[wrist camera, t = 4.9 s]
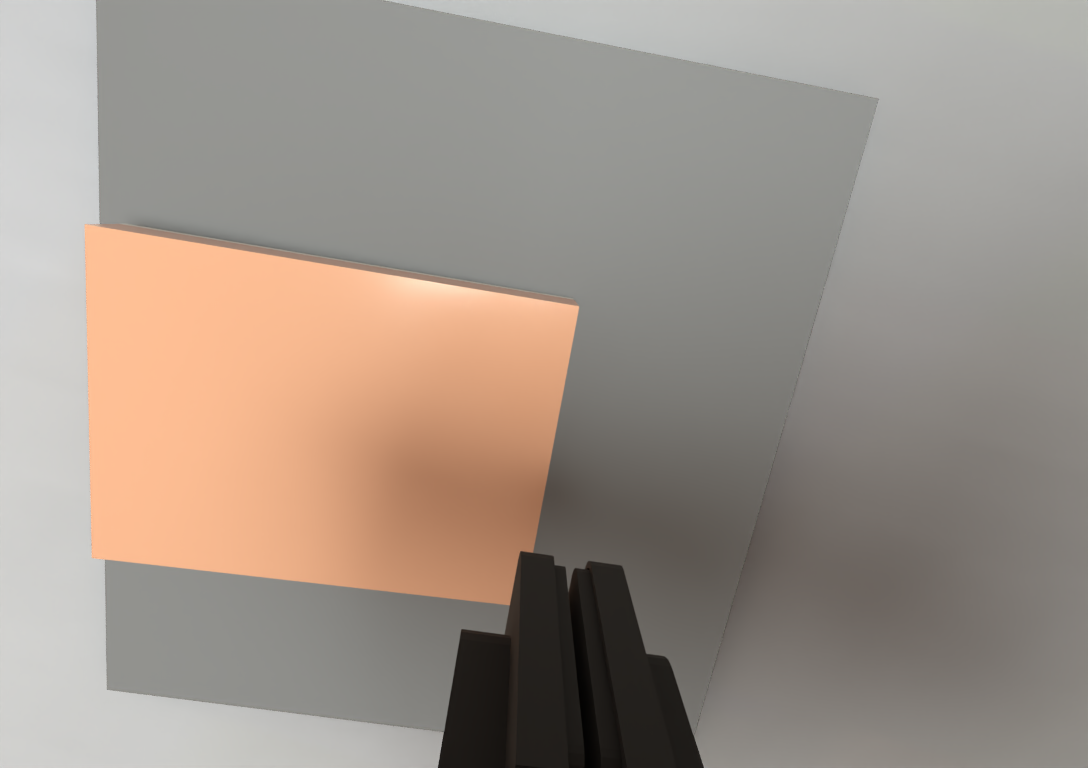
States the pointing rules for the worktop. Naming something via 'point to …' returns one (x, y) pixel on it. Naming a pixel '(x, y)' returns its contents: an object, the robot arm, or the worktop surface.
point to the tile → (316, 415)
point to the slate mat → (497, 259)
